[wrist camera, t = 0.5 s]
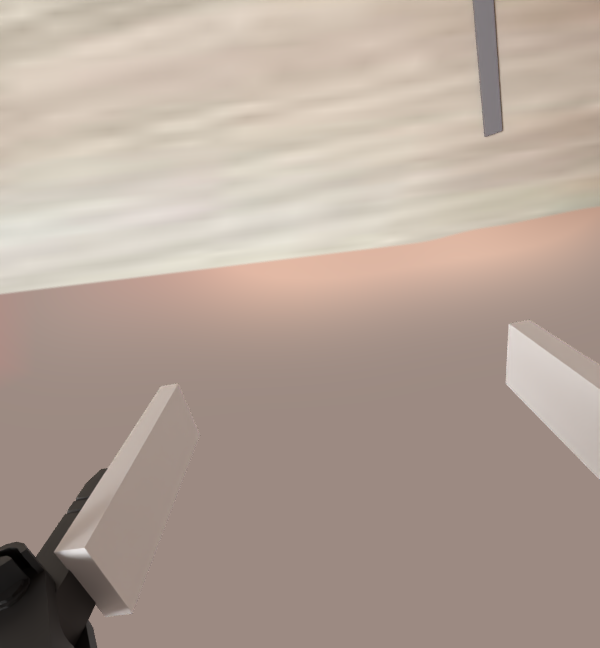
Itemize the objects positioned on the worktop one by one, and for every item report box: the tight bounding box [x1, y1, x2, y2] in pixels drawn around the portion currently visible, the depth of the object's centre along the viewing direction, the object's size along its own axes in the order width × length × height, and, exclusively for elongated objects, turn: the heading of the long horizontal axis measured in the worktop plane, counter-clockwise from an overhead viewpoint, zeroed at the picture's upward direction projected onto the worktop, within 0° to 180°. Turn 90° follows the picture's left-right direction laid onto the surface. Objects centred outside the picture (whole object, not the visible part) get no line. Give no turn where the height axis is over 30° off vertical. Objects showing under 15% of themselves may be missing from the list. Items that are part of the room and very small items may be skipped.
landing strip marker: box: [473, 0, 502, 137], centre depth 31 cm, size 18×2×1 cm, turn 18°
